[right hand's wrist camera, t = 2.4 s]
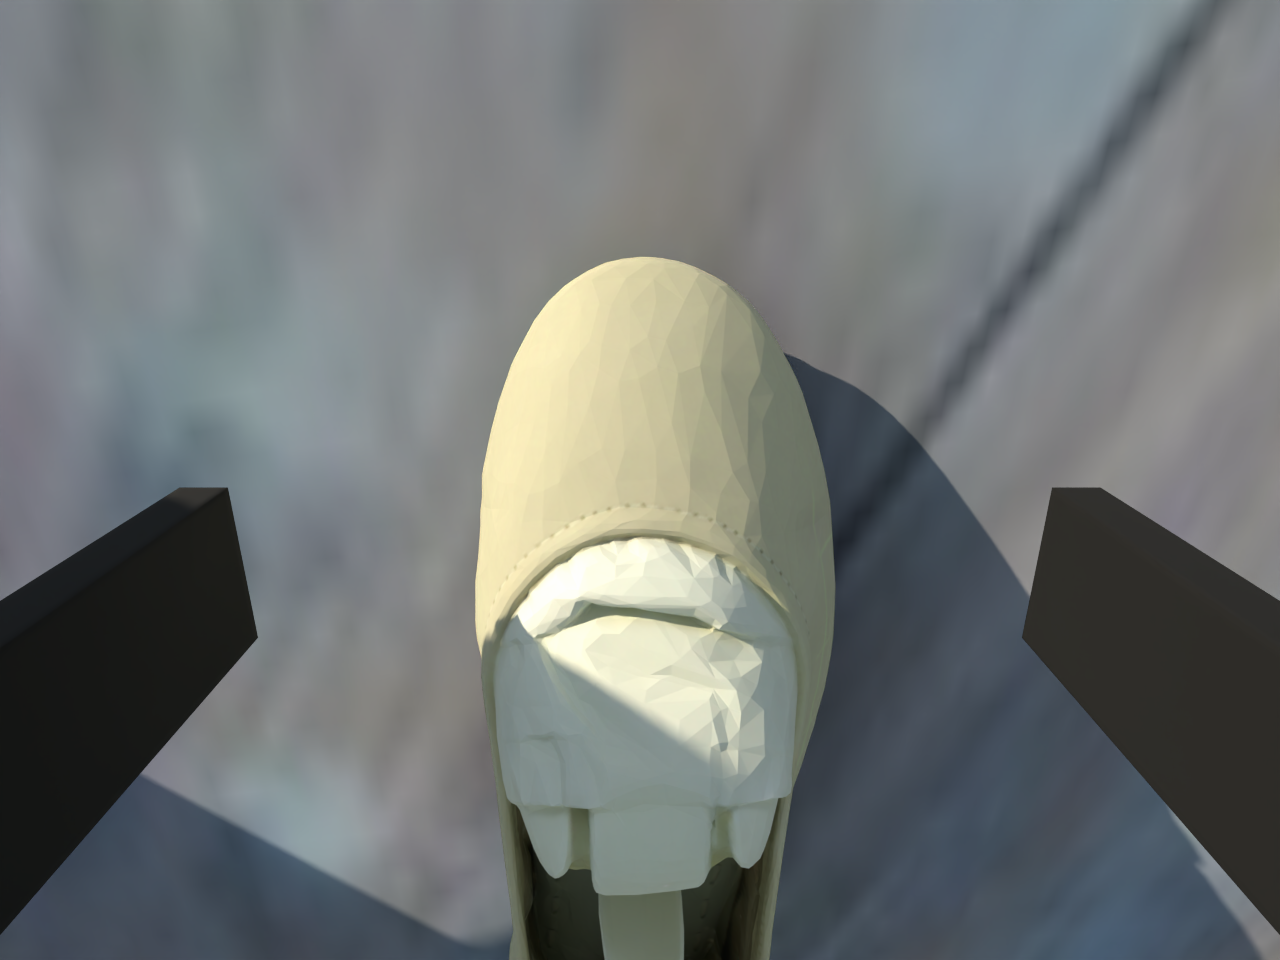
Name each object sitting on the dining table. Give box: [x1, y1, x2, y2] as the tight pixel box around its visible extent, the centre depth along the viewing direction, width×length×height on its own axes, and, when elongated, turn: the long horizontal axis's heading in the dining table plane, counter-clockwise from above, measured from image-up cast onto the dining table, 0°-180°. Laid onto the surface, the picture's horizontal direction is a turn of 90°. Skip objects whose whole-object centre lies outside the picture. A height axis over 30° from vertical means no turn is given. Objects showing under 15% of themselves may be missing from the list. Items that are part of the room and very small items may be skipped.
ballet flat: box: [476, 257, 835, 960], centre depth 17 cm, size 8×25×8 cm, turn 0°
